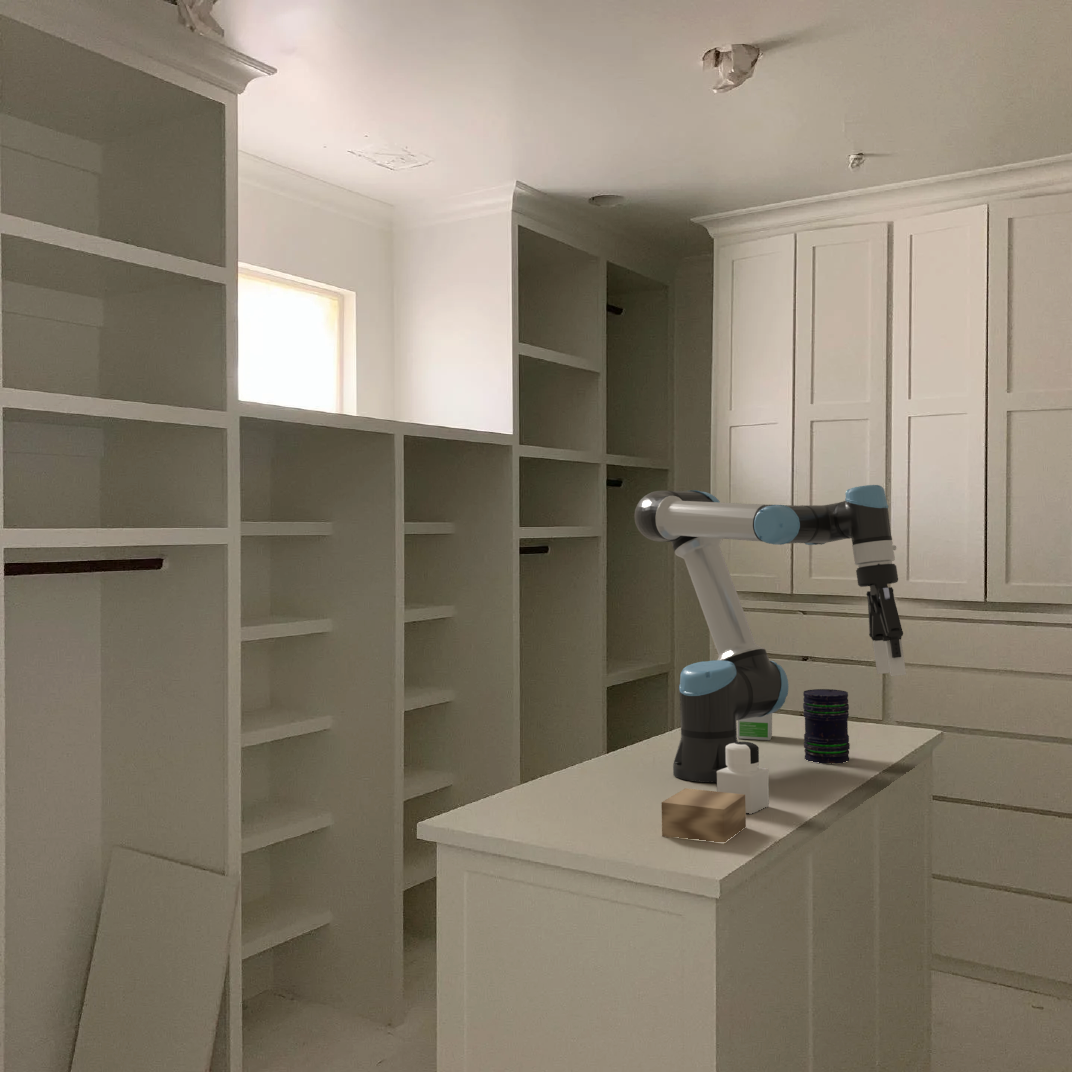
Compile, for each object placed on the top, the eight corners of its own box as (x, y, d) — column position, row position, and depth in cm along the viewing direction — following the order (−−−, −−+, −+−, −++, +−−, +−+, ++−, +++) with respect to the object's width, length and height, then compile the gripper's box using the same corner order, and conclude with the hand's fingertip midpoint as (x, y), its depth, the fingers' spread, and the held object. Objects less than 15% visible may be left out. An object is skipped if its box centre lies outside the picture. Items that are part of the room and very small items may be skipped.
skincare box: (736, 739, 263) (735, 675, 263) (739, 734, 270) (738, 672, 270) (771, 740, 261) (770, 676, 261) (773, 735, 267) (772, 673, 267)
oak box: (662, 837, 181) (661, 802, 181) (686, 821, 191) (685, 788, 191) (724, 846, 176) (723, 809, 176) (745, 829, 185) (745, 794, 185)
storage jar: (841, 765, 232) (840, 696, 232) (797, 761, 237) (796, 693, 237) (855, 757, 240) (854, 690, 240) (813, 753, 246) (811, 687, 245)
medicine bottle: (735, 801, 204) (734, 738, 204) (769, 806, 199) (768, 742, 199) (716, 809, 198) (715, 744, 198) (751, 815, 194) (750, 748, 193)
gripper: (909, 557, 195) (926, 674, 193) (883, 566, 220) (898, 670, 218) (866, 562, 196) (883, 678, 194) (845, 571, 221) (860, 674, 219)
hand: (891, 674), depth 206 cm, fingers open, 13 cm apart
